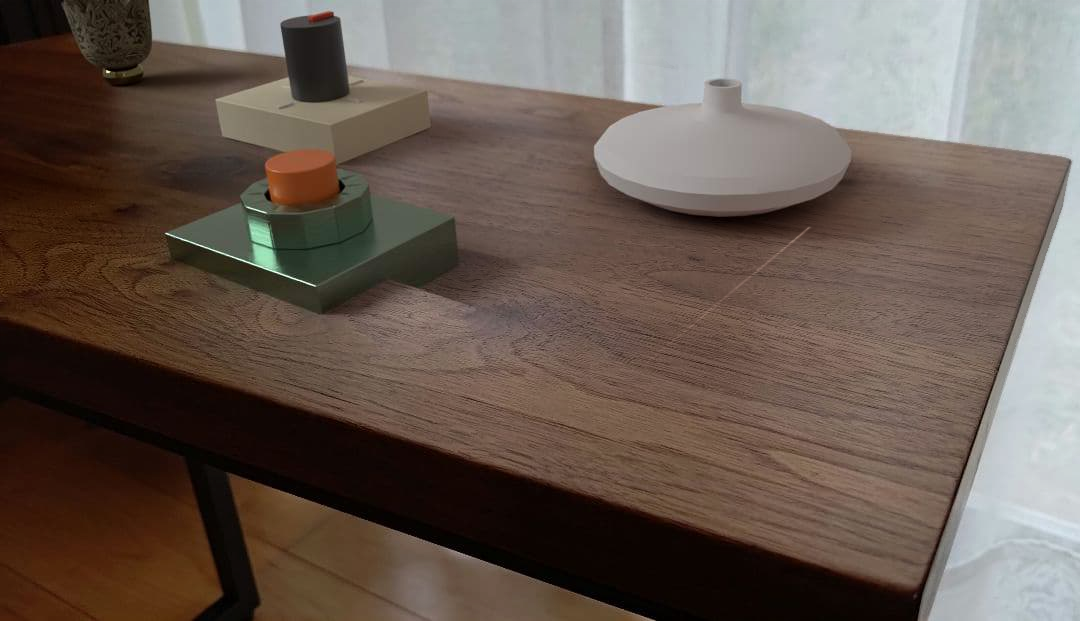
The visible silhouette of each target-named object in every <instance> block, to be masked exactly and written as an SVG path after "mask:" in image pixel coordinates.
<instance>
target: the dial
mask: <svg viewBox="0 0 1080 621" xmlns="http://www.w3.org/2000/svg"><path fill="white" fill-rule="evenodd" d="M279 25H280V26H279V27H280V31H281V32H280V33H281V37H282V44H283V50H284V57H285V63H286V69H287V75H288V76H287V77H289V82H290V89H291V95H292V98H293V99H295V100H298V101H303V102H321V101H329V100H334V99H338V98H341V97H344V96H346V95H347V94H349V92H350V88H349V81H348V76H349V74H348V67H347V66H348V65H347V58H346V51H345V44H344V36H343V29H342V21H341V18H340V17H339V16H336V15H335V12H334V11H331V10H328V11H324V12H319V13H316V14H310V15H301V16H295V17H291V18H287V19H284V20H282V21H281V22H280V24H279Z"/></svg>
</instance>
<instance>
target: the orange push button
mask: <svg viewBox="0 0 1080 621" xmlns="http://www.w3.org/2000/svg"><path fill="white" fill-rule="evenodd" d="M264 168H265V174H266V178H267V180H268V186H269V191H270V197H271V201H272V202H274V203H278V204H281V205H303V204H308V203H314V202H319V201H324V200H326V199H328V198H331V197H333V196H335V195H338V194H339V193H340V188H339V181H338V174H337V169H338V168H337V165H336V161H335V156H334V155H333V154H332V153H331V152H328V151H324V150H317V149H303V150H295V151H289V152H283V153H282V152H281V153H279V154H276V155H274V156H272V157H270V158H268V159H267V160H266V162H265V163H264Z"/></svg>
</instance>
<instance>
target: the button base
mask: <svg viewBox="0 0 1080 621" xmlns="http://www.w3.org/2000/svg"><path fill="white" fill-rule="evenodd" d="M337 174H338V181H339V188H340V193H339V194H338V195H335V196H333V197H331V198H328V199H326V200H324V201H319V202H314V203H308V204H303V205H281V204H278V203H274V202H272V201H271V197H270V191H269V186H268V180H267V177H265V178H263V179H260V180H258V181H256V182H253V183H252V184H250V185H249V187H247V188H246V189H245V190H244V191H243V192H242V193H241V194H240V203H237V204H234V205H231V206H229V207H227V208H224V209H222V210H219V211H216V212H214V213H212V214H209V215H206V216H204V217H202V218H199V219H196V220H194V221H191V222H189V223H186V224H184V225H182V226H180V227H176V228H174V229H172V230H169V231H167V232H165V233H164V235H165V239H166V244H167V249H168V252H169V256H170V259H171V260H173V261H176V262H178V263H181V264H184V265H186V266H189V267H191V268H194V269H197V270H200V271H202V272H205V273H208V274H210V275H212V276H216V277H218V278H220V279H222V280H223V279H224V280H227V281H229V282H232V283H234V284H237V285H240V286H242V287H245V288H248V289H250V290H252V291H255V292H259V293H261V294H264V295H266V296H269V297H272V298H273V299H274V298H275V299H277V300H280V301H283V302H285V303H287V304H291V305H294V306H295V307H298V308H300V309H304V310H306V311H308V312H309V311H310V312H312V313H315V314H317V315H323V314H325V313H327V312H329V311H331V310H333V309H335V308H336V307H338V306H340V305H342V304H344V303H346V302H348V301H349V300H352V299H353V298H355V297H357V296H359V295H361V294H362V293H364V292H367V291H368V290H370V289H372V288H373V287H376V286H377V285H379V284H382V283H383V282H384V281H387V280H390V281H393V282H396V283H400V284H401V285H406V286H409V287H412V288H414V289H419V288H421V287H423V286H425V285H427V284H429V283H430V282H433V281H434V280H436V279H438V278H439V277H441V276H443V275H444V274H446V273H448V272H451V271H452V270H454V269H455V268H457V267H459V266H460V260H459V248H458V236H457V227H456V226H457V225H456V216H455V215H451V214H447V213H444V212H440V211H437V210H432V209H429V208H425V207H421V206H418V205H414V204H410V203H407V202H402V201H399V200H395V199H391V198H387V197H383V196H381V195H377V194H372V193H371V192H370V185H369V183H368V181H367V180H366V179H365V178H364V177H363V175H362V174H361V173H358V172H353V171H350V170H347V169H343V168H337ZM453 268H454V269H453Z"/></svg>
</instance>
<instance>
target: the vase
mask: <svg viewBox="0 0 1080 621" xmlns="http://www.w3.org/2000/svg"><path fill="white" fill-rule="evenodd" d="M742 84H743V82H741V81H740V80H738V79H734V78H728V77H727V78H724V77H722V78H721V77H719V78H711V79H708V80H706V81H705V82H704V84H703V96H702V99H703V100H702V102H693V103H692V102H691V103H684V104H683V103H682V104H675V105H674V104H673V105H665V106H660V107H656V108H651V109H646V110H642V111H638V112H636V113H633V114H630V115H628V116H625V117H622V118H621V119H619V120H617V121H616V122H614V123H612V124H611V125H609V126H608V128H607V129H606V130H605V131H604V133H602V135H601V136H600V138H599V139H598V140H597V142H596V143H595V144H594V145H593V157H594V160H595V163H596V166H597V169H598V171H599V174H600V176H601V177H602V178H603V179H604V180H605V181H606V183H607V184H608V185H609V186H610V187H612V188H614V189H615V190H618V191H619V192H621V193H623V194H625V195H627V196H629V197H631V198H634V199H637V200H640V201H642V202H644V203H647V204H649V205H653V206H654V207H658V208H661V209H665V210H668V211H671V212H676V213H681V214H686V215H692V216H702V217H703V216H704V217H717V218H720V217H721V218H722V217H746V216H747V217H748V216H753V215H760V214H762V215H763V214H767V213H771V212H775V211H779V210H782V209H786V208H789V207H791V206H792V207H793V206H795V205H798V204H801V203H804V202H808V201H811V200H814V199H816V198H818V197H819V196H822V195H824V194H826V193H827V192H830V191H831V190H833V189H834V188H835V187H836V186H837V185H838V184H839V183H840V182H841V181H842V179H843V178H844V176H845V174H846V173H847V170H848V168H849V166H850V164H851V160H852V149H851V147H850V146H849V145H848V143H847V142H846V140H845V139H844V138H843V137H842V135H841V134H840V132H839V131H838V130H837V129H836V127H834V126H833V125H831V124H830V123H828V122H826V121H824V120H822V119H821V118H819V117H815V116H812V115H809V114H807V113H803V112H801V111H796V110H792V109H787V108H782V107H777V106H771V105H762V104H755V103H743V102H742V86H743V85H742Z"/></svg>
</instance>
